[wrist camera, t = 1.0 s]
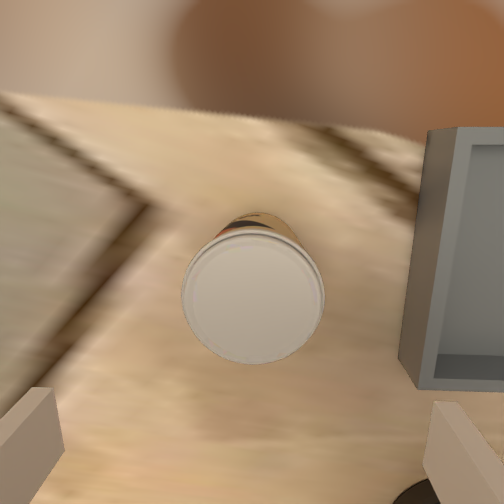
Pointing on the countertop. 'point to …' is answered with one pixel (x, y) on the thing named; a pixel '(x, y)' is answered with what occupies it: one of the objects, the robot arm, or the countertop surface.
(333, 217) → the countertop surface
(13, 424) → the robot arm
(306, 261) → the coffee cup
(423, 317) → the walled box
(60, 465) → the countertop surface
